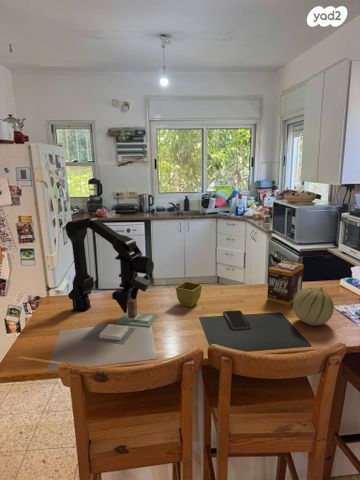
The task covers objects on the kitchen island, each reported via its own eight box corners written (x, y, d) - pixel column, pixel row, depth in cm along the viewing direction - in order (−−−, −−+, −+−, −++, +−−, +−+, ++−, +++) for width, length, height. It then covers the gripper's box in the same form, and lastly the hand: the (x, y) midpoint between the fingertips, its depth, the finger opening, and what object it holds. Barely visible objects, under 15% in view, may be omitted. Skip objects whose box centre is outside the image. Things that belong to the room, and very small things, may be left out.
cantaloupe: (284, 318, 136) (286, 283, 132) (311, 312, 141) (314, 278, 138) (311, 335, 123) (314, 297, 119) (340, 327, 128) (344, 290, 125)
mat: (82, 340, 121) (81, 339, 121) (97, 325, 132) (97, 324, 132) (123, 345, 117) (123, 344, 117) (135, 329, 129) (135, 328, 129)
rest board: (116, 324, 133) (116, 322, 132) (126, 314, 142) (126, 311, 142) (149, 328, 129) (149, 326, 129) (157, 317, 139) (157, 314, 139)
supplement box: (266, 300, 154) (268, 267, 151) (280, 290, 166) (282, 260, 162) (288, 306, 148) (290, 272, 144) (301, 295, 159) (304, 264, 156)
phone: (231, 328, 127) (222, 311, 142) (231, 331, 127) (222, 313, 142) (252, 326, 128) (240, 310, 143) (251, 329, 128) (240, 312, 143)
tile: (99, 334, 121) (119, 336, 119) (108, 324, 129) (128, 326, 127) (99, 338, 121) (119, 340, 120) (109, 327, 129) (128, 330, 127)
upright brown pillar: (127, 320, 134) (126, 302, 132) (131, 315, 139) (130, 297, 137) (148, 322, 132) (147, 304, 130) (152, 317, 137) (151, 299, 135)
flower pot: (192, 310, 145) (192, 290, 143) (175, 306, 149) (175, 287, 147) (202, 303, 152) (202, 284, 150) (185, 299, 157) (185, 281, 154)
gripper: (138, 280, 121) (140, 320, 125) (154, 265, 139) (155, 300, 142) (110, 278, 124) (112, 317, 127) (129, 263, 141) (131, 298, 145)
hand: (129, 307), depth 135 cm, fingers open, 9 cm apart
